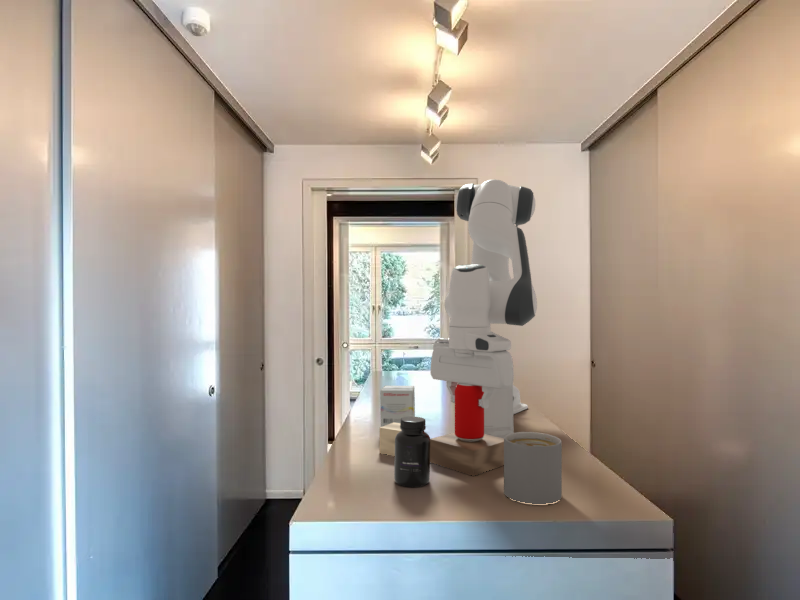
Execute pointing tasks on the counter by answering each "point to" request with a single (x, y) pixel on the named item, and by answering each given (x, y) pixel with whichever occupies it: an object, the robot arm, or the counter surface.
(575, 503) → the counter surface
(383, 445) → the oak block
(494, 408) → the skincare box
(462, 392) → the beverage can
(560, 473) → the coffee mug
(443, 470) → the counter surface
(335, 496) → the counter surface
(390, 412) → the ink box
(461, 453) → the walnut block
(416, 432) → the supplement bottle
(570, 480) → the counter surface
